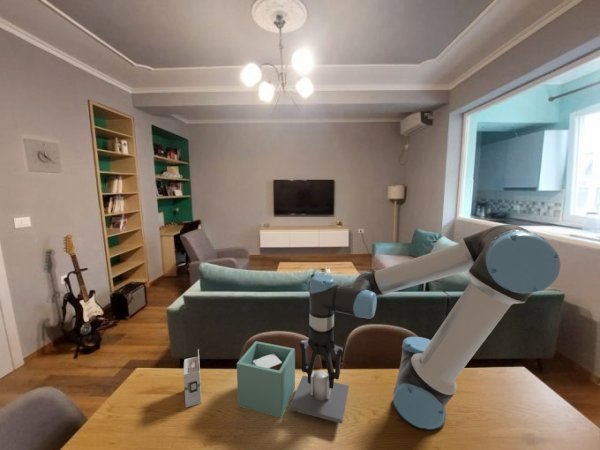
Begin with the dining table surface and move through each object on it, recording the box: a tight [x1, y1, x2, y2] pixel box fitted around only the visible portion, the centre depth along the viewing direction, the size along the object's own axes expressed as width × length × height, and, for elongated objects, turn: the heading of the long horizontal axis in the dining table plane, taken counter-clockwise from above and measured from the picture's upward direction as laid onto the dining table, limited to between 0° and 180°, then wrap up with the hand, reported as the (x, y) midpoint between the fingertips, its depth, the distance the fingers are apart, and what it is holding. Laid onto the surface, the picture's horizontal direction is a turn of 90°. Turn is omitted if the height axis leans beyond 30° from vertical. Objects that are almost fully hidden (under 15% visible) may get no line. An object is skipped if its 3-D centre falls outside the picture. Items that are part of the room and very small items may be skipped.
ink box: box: [183, 348, 202, 408], centre depth 89 cm, size 9×5×15 cm, turn 22°
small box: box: [253, 353, 282, 370], centre depth 90 cm, size 8×6×13 cm
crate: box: [236, 340, 296, 419], centre depth 89 cm, size 15×13×15 cm
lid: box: [289, 370, 350, 424], centre depth 85 cm, size 16×14×10 cm
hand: (320, 393), depth 85 cm, fingers closed on lid, 4 cm apart
